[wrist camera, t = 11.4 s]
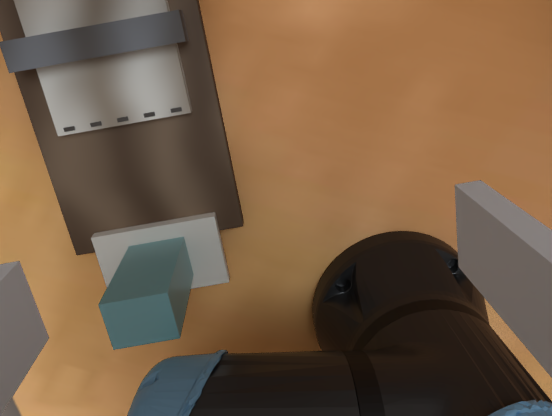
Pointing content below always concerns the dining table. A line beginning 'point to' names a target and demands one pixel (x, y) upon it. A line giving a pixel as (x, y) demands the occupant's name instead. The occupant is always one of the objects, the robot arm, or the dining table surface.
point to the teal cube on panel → (156, 275)
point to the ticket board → (122, 111)
